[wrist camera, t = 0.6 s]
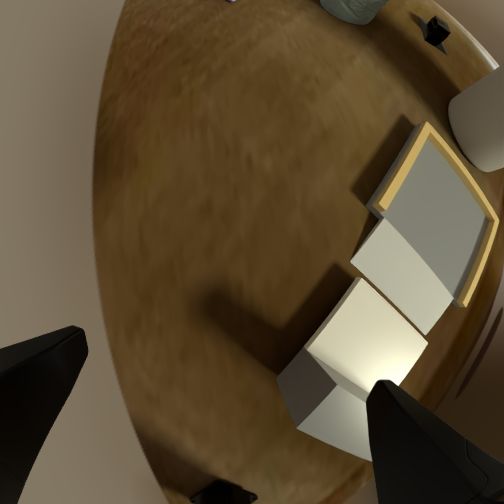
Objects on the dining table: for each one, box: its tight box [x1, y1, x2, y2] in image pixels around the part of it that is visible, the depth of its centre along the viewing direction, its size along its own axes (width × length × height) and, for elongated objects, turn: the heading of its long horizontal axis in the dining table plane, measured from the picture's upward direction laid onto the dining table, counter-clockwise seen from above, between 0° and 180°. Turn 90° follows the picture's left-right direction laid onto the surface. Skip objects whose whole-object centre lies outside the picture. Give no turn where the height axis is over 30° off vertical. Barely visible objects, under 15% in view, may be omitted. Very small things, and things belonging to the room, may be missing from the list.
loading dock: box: [350, 121, 499, 335], centre depth 25 cm, size 20×18×3 cm
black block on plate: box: [418, 16, 450, 55], centre depth 26 cm, size 12×7×5 cm, turn 165°
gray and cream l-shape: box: [276, 277, 428, 461], centre depth 20 cm, size 12×12×10 cm
